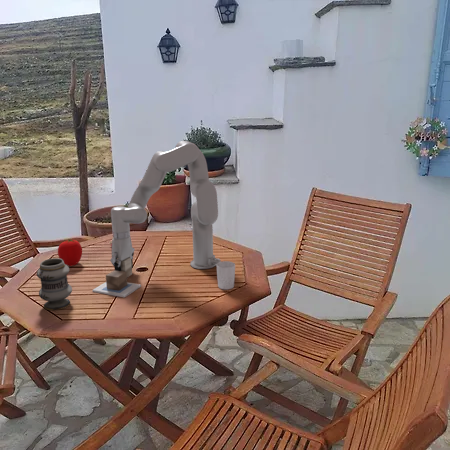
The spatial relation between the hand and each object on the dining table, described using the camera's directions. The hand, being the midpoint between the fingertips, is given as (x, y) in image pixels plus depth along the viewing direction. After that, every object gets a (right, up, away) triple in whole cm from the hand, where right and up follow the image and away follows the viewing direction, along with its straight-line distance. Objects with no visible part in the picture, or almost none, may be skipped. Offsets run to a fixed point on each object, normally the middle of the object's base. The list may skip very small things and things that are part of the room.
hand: (124, 270), depth 200 cm
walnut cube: (0, -5, -14) cm, 15 cm away
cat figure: (-10, +7, +36) cm, 38 cm away
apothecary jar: (-20, -11, -28) cm, 36 cm away
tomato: (-29, +1, +14) cm, 32 cm away
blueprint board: (0, -6, -14) cm, 15 cm away
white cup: (+46, -6, -13) cm, 48 cm away
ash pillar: (0, -2, +1) cm, 2 cm away
